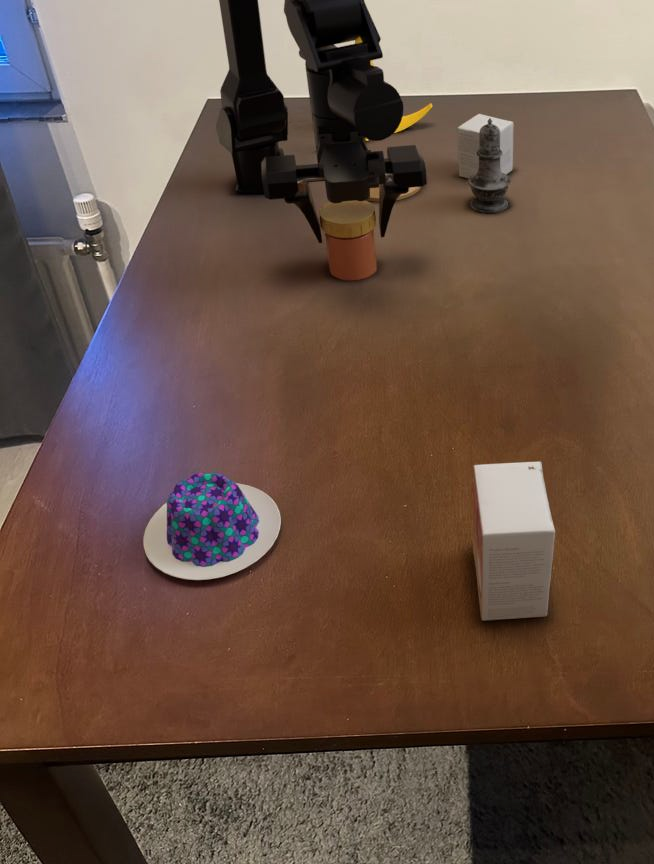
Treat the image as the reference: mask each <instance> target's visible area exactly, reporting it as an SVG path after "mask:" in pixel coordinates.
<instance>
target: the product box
mask: <svg viewBox="0 0 654 864" xmlns="http://www.w3.org/2000/svg"><path fill="white" fill-rule="evenodd" d="M489 118H491V120H492V124H493V125H496V126H497V127H498V128H499V129H500V150H502V152H503V154H502V156H501V157H500V168H501V172H502V173H504V174H506V175H508V174H509V173H511V172H513V169H514V122H513V121H511V120H508V119H507V120H506V119H502V118H498V117H495V116H489V115H486V114H482V113H478V114H476V115H474V116H473V117H471V118H470V119H468V120H467V121H465V122H464V123H462V124H461V125H459V126H458V127H457V128H456V132H457V157H458V158H457V159H458V160H457V162H458V177H461V178H465V179H469V177H470V176H471V175H473V174H475V173H477V172H478V168H479V156H477V151H478V150H479V132H480V129H481V127H482V126H484V125H486V124H488V122H487V121H488V119H489Z"/></svg>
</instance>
